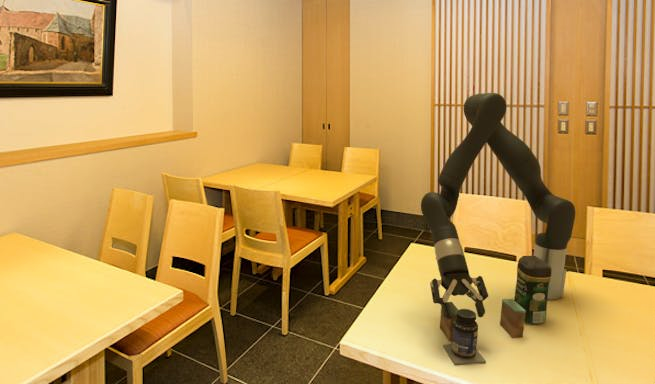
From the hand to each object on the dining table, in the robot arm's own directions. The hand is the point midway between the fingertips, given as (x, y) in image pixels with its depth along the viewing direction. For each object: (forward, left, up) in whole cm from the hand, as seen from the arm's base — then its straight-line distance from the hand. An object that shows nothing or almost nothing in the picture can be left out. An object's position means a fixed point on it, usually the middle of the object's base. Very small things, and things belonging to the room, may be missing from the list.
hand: (465, 317), depth 110 cm
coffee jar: (-27, -15, -10) cm, 32 cm away
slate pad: (0, +1, -10) cm, 10 cm away
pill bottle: (0, +1, -9) cm, 9 cm away
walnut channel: (-9, -8, -10) cm, 15 cm away
